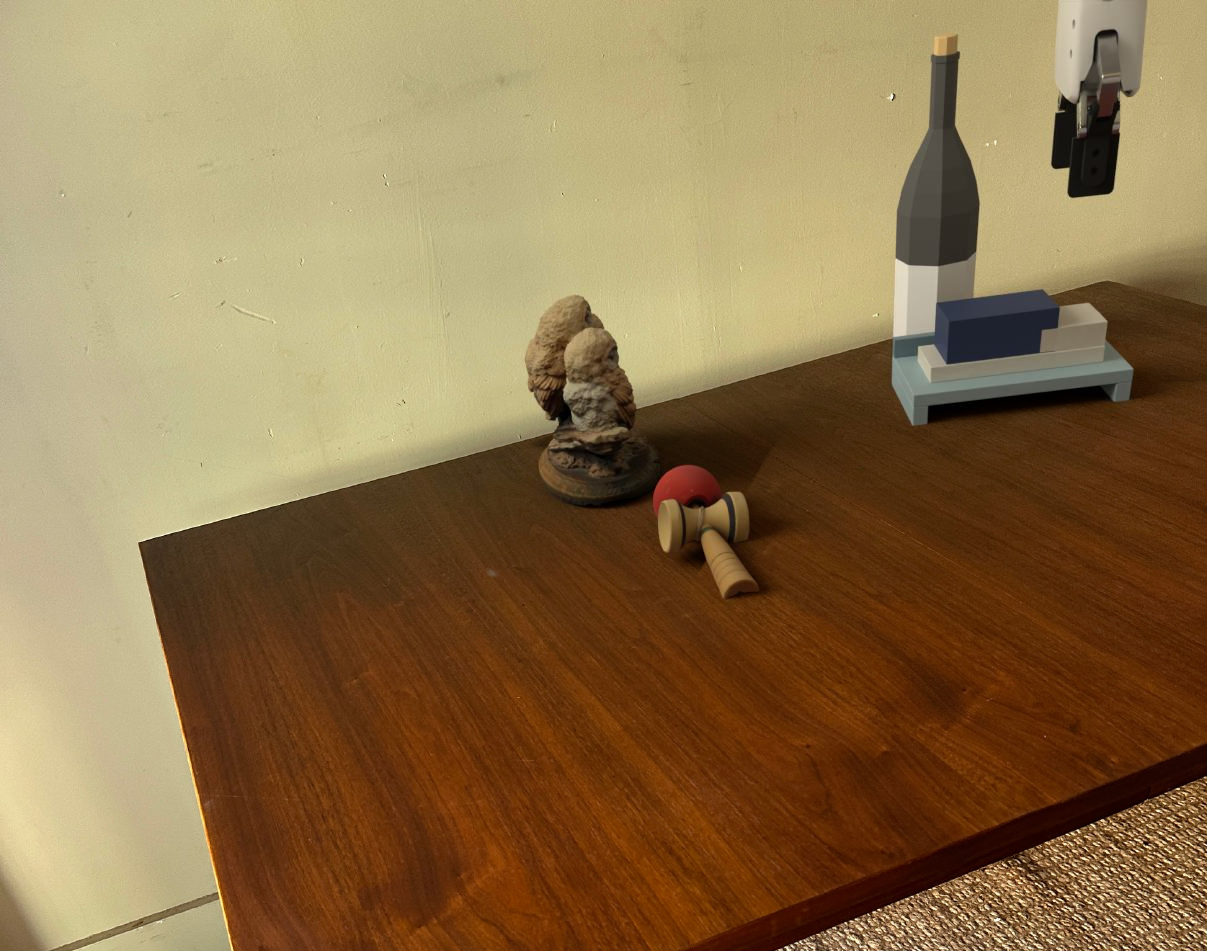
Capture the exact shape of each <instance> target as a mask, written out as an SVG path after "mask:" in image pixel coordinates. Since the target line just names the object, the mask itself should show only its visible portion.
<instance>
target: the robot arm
mask: <svg viewBox="0 0 1207 951" xmlns="http://www.w3.org/2000/svg"><path fill="white" fill-rule="evenodd" d="M1057 5H1058V6H1057V18H1056V31H1055V51H1054V82H1055V85H1056V88H1057V89H1058V91H1059V92H1058V96H1057V112H1054V123H1053V136H1052V147H1051V157H1050V158H1051V160H1050V165H1051V168H1052V169H1053V170H1062V169H1068V180H1067V192H1066V193H1067V196H1068V197H1069V198H1071V199H1078V198H1085V197H1096V196H1097V197H1098V196H1103V195H1104V196H1107V195H1111V193H1113V192H1114V190H1115V182H1116V174H1117V173H1116V172H1117V167H1118V166H1117V165H1118V155H1119V149H1120V148H1119V147H1120V139H1121V138H1120V137H1121V132H1120V130H1121V129H1120V128H1121V93H1122V94H1123V95H1124V96H1125V97H1126V98H1133V97H1134V96H1136V94H1137V93H1138V92H1139V90H1140V89H1141V81H1142V70H1143V57H1144V48H1145V46H1144V45H1145V37H1146V36H1145V35H1146V23H1147V22H1146V21H1147V13H1148V12H1147V11H1148V0H1058V4H1057Z"/></svg>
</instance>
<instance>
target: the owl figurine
mask: <svg viewBox="0 0 1207 951" xmlns="http://www.w3.org/2000/svg"><path fill="white" fill-rule="evenodd" d="M618 349H619V347H618V342H617V341H616V339H615V338H614V336H612V333H610V331H608V330H606V329H605V326H604V323H603V321H602V320H601V318H599V316H598V315H597V314H595V313H592V309H591V304H590V303H589V301H588V300H586V299H585V297H584V296H580V295H579V294H578V295H576V294H572V295H566V296H565V297H562V298H560V299H558V300H557V301H555V302H554V303H553V304H552V305H551V306H549V307H548V309H546V310H545V311H544V313H543V314H542V316H541V317H539V322H538V325H537V328H536V330H535V334H534V337H533V338H531V339H530V340H529V342H528V344H527V346H526V350H525V356H524V363H525V368H526V372H527V376H528V378H527V383H526V384H527V389H528V391H529V392H530V393H533V396H534V399H535V401H536V402H537V404H538V406H539V407H540V408H541V410H543V412H545V415H544V416H545V417H544V418H545V419H546V420H548V421H552V422H556V420H557V422H558V424H557V425H556V428H555V429H554V433H553V439H552V440H550V442H549V444H548V446H546V448H545V449H544V450H543V451H542V452H541V454H540V456H539V460H538V472H539V478H540V480H541V482H542V484H543V485H544V487H545V488H546V490H547V492H548V493H549V494H551V495H552V496H553V497H555V498H557V499H559V500H561V501H563V502H566V503H569V504H572V505H576V506H588V505H590V504H592V505H593V506H597V505H598V506H599V507H601V506H602V504H608V503H611V502H616V501H620V500H623V499H632V498H637V497H642V496H643V495H645V494H646V493H648V492H650V491H651V490H653V488H654V487H656V485H657V484H658V482H659V479H660V476H661V474H662V473H661V468H662V465H661V457H660V454H659V452H658V450H657V449H656V447H655V446H654V445H653V443H651V442H650V441H649V440H648V438H647V437H646V436H642V435H641V434H640V433H639V432H638V430H637V429H636V428H635V427H634V425H635V423H636V412H637V411H638V409H637V404H636V403H635V396H634V393H633V392H634V389H633V385H632V383H631V382H630V380H629V377H628V375H627V374H626V370H625V369H623V368H622V367H621V366H620V364H619V361H620V355H619V352H618ZM596 455H601V456H604V457H602V458H601V457H598V456H596Z"/></svg>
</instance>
